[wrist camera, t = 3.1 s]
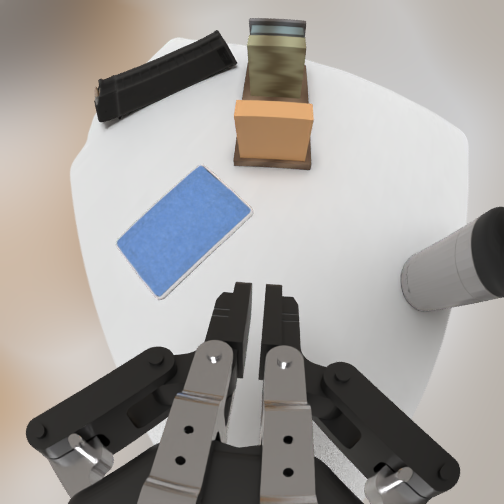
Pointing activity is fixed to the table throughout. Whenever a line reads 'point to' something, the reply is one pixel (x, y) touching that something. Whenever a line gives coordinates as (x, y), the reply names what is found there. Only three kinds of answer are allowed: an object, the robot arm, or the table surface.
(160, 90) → the magazine
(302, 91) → the book row
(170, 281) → the blue flat slab
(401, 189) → the table surface
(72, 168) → the table surface
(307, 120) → the loose bookend
